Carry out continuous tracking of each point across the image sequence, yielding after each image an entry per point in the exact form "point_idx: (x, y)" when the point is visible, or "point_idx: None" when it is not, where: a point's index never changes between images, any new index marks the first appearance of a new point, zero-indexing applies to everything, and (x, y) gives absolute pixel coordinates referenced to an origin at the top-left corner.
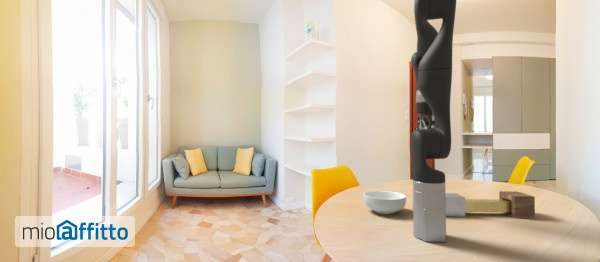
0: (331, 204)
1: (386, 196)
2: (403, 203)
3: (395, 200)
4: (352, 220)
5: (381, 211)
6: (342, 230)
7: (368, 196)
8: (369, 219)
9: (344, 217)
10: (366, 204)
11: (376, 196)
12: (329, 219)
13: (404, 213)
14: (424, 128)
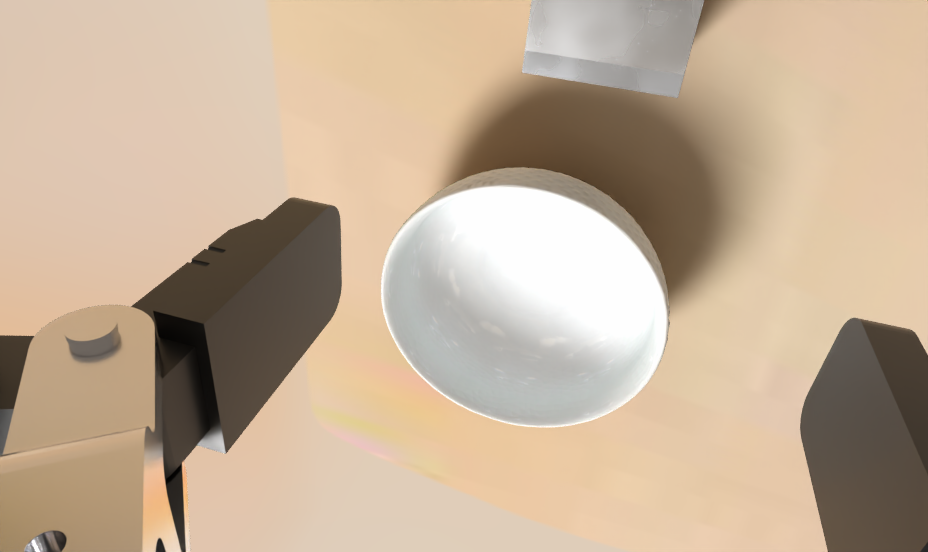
0: (385, 443)
1: (412, 238)
2: (640, 230)
3: (669, 312)
4: (668, 455)
5: (613, 322)
6: (797, 532)
7: (434, 352)
8: (670, 387)
9: (614, 467)
10: (543, 386)
11: (407, 294)
12: (632, 523)
13: (593, 166)
14: (168, 532)
